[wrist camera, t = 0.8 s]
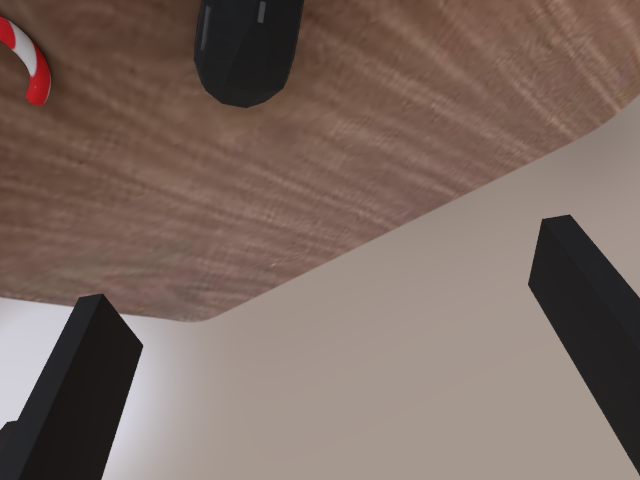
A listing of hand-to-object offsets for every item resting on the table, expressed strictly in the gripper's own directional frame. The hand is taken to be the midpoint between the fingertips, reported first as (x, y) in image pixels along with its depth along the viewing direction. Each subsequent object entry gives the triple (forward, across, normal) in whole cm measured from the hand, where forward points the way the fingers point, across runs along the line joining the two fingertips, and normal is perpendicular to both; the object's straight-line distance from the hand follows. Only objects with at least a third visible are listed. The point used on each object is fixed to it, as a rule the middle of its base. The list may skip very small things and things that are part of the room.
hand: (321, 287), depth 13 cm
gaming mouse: (+22, -2, +5) cm, 22 cm away
